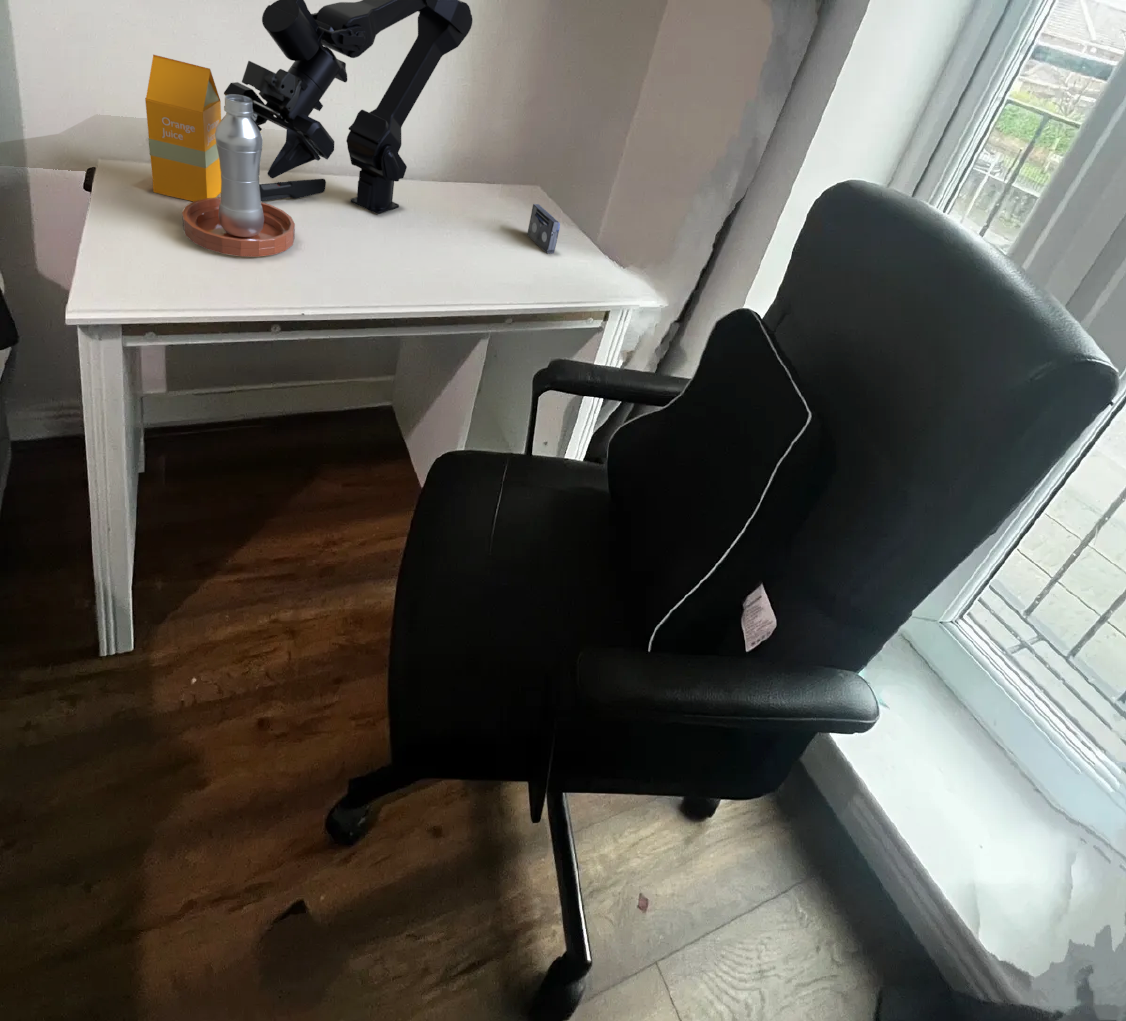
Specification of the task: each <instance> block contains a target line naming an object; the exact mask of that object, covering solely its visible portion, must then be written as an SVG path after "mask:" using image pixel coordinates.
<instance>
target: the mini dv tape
mask: <svg viewBox="0 0 1126 1021" xmlns="http://www.w3.org/2000/svg"><path fill="white" fill-rule="evenodd" d="M560 228H561V223H560V221H558V220H557V219H556V218H555V217H554V216H553V215H552V214H551V213H550V212H548V211H547V210H546V209H545V208H544V207H543V206H542V205H540V204H539V203H533V204H532V209H531V214H530V219H529V224H528V229H527V233H526V235H527V236H528V237H529V238H530V239H531V240H532V241H533V242H534V243H535V245H537V246H538V247H539V248H540V249H541V250H542V251H543V252H545V253H546V254H555V250H556V247H557V242H558V238H559V232H560Z"/></svg>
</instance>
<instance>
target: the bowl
mask: <svg viewBox="0 0 1126 1021" xmlns="http://www.w3.org/2000/svg"><path fill="white" fill-rule="evenodd" d="M220 201H221V196H219V197H218V196H217V197H215V198H205V199H201V200H197V201H194V202H193V201H191V203H188V204H187V205H185V206H184V208H183V210H182V212H181V220H182V230H183V232H184V235H185V237H186V238H188V239H189V240H190V241H191V242H192V243H193V244H196V245H197V246H199V247H201V248H203V249H206V250H209V251H213V252H216V253H218V254H223V255H229V256H236V257H251V258H252V257H256V258H257V257H264V256H273V255H277V254H280V253H283V252H286V251H288V250H289V249H290V248H291V247H292V246H293V245H294V242H295V238H296V223H295V221H294V219H293V218H292V216H291V215H289V213H287V212H286V211H284V210H283V209H280V208H279V207H276V206H275V205H272V204H269V203H265V202H264V201H261V205H262V209H263V214H264V224H263V229H262V230H261V232H260V233H259V234H258V235H256V236H251V237H240V236H235V235H231V234H229V233H227V232H226V231H225V230H224V229H223V228H222V226H221V224H220V220H219V216H218V214H219V205H220Z"/></svg>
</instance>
